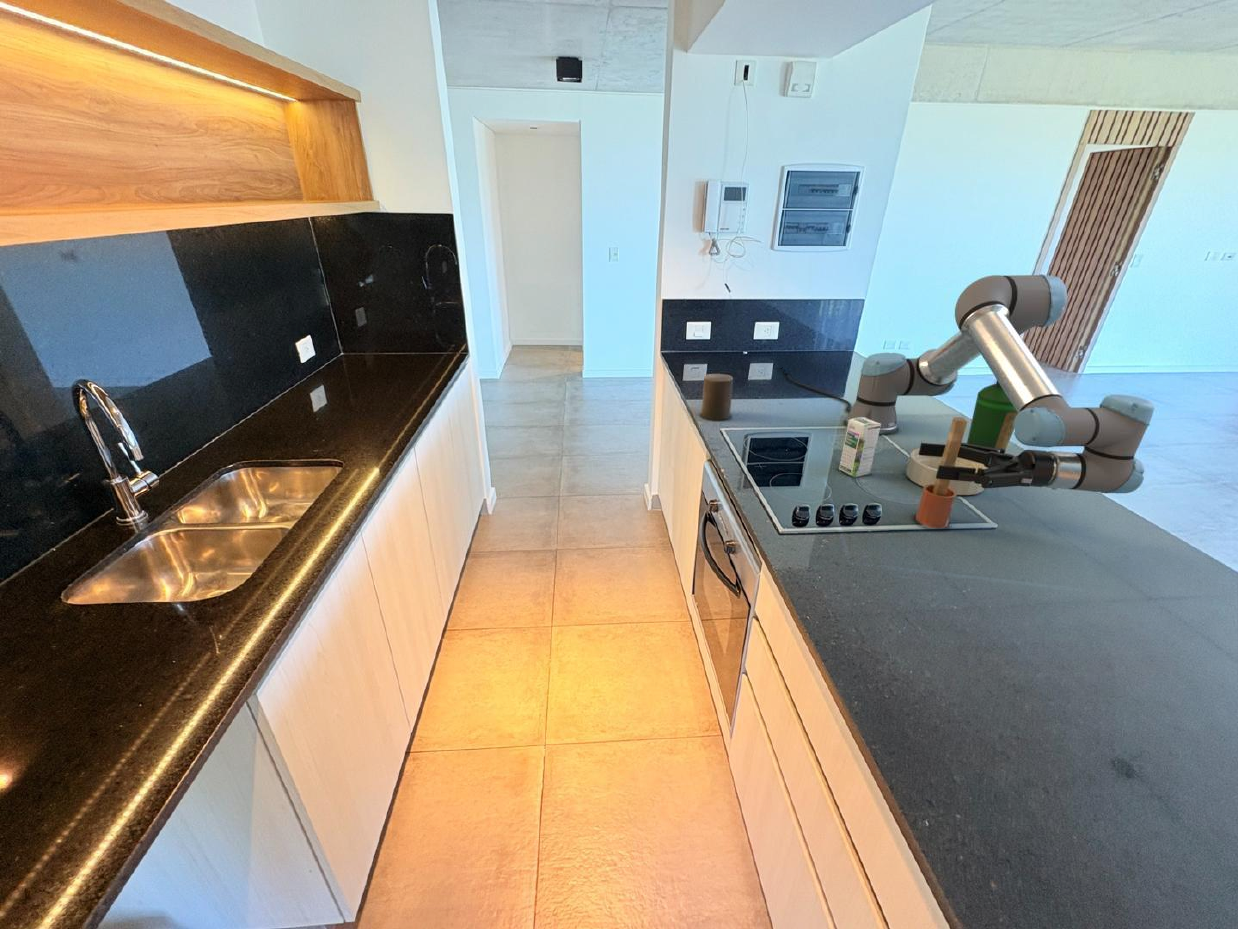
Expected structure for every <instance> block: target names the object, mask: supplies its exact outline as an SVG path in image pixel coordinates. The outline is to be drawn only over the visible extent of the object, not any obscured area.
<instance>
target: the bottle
mask: <svg viewBox="0 0 1238 929" xmlns="http://www.w3.org/2000/svg"><path fill="white" fill-rule="evenodd" d="M976 395H977V396H976V400H975V405H974V409H973V415H972V418H971V422H970V427H969V432H968V436H967V440H966V443H968V444H974V445H979V446H985V447H990V448H1000V449H1005V450H1007V448H1008V445H1009V443H1010V441H1011V438H1012V436H1013V434H1014V432H1015V428H1013V424H1014V420H1015V418H1016V416H1017V415H1018V412H1017V411H1016V409H1015V407H1014V406H1013V404H1012V403H1011V401H1010V400H1009V398H1008V396H1007V395H1006V393H1005V392H1004V390H1003V388H1002V387H1001V385H1000V384H999V382H998V380H997V379H996V382H995V383H993V384H990V385H987V386H984V387H983V388H982V389H981V390H980V391H978V392H977V394H976ZM991 461H992V460H991ZM990 464H991V462H990Z"/></svg>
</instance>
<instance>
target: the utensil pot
mask: <svg viewBox="0 0 1238 929" xmlns="http://www.w3.org/2000/svg"><path fill="white" fill-rule="evenodd" d="M933 489H934V484H931V485H926V486H924V487H923V488H922V491H921V494H920V498H919V503H918V506H917V509H916V514H915V520H916V521H917V522H918V523H919V524H921V525H923V526H925V527H928V528H932V529H945V528H946V527H947V526H948V525H949V523H950V520H951V519H950V518H951V515H952V512H953V509H954V505H955V502H956V498H957V497H958V495H956V492H955V491H954V490H952V489H950V488H948V490H947V493H946V496H945V497H944V496H938V495H934V494H932V492H933Z"/></svg>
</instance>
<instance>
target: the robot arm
mask: <svg viewBox="0 0 1238 929" xmlns="http://www.w3.org/2000/svg"><path fill="white" fill-rule="evenodd" d="M1067 302H1068V291H1067V287H1066V285H1065V283H1064V281H1063V280H1062V278H1059V277H1058V276H1055V275H1047V274H1023V275H1021V274H1019V275H1018V274H1017V275H998V274H997V275H996V274H994V275H988V276H984V277H981V278H979V279H976V280H975V281H973V282H972V283H970V284H969V285H968V286H967V287H965V288H964V289H963V291H962V292H961V293H960V295H959V296H958V299H957V300H956V304H955V307H954V318H955V324H956V326H957V328H958V330H959V331H957V332H956V333H955V334H954V335H953V336H951V337H950V338H948V340H946V341H945V342H944V343H943V344H941V345H940V346H939V347H938V348H932V349H928V350H926V351H925V352H923V353H922V354H921V355H919V357H917V358H916V357H915V358H914V357H913V358H908V357H906V355H904V354H902V353H899V352H879V353H874V354H870V355H868V356H867V357H866V358H865V359H864V361H863V363H862V366H861V370H860V377H859V383H858V387H857V393H856V398H855V402H854V403H853V405H852V407H851V403H850V402H849V401H848V400H846V399H845V398H842V397H839V396H837V395H834V394H832V393H829V392H826V391H823V390H820V389H817V388H814V387H811V386H809V385H805V384H803V383H801V382H799V381H796V380H795V379H794V378H791V377H790V376H789V375H788V376H789V377H788V376H786V378H787V379H788V380H789V381H791V382H792V383H794V384H796V385H798V386H800V387H803V388H806V389H809V390H811V391H814V392H817V393H819V394H822V395H825V396H828V397H832V398H833V399H836V400H839V401H841V402H843V403H845V404H847V407H846V411H847V412H849V413H848V414H847V416H846V418H845V425H846V426H847V427H848V422H849V420H850V419H853V418H859V417H865V418H867V419H869V420H872V421H874V422H877V423H880V424H881V427H880V431H879V435H888V434H893V433H895V432H896V431H897V428H898V418H897V410H896V406H897V405H896V404H897V401H898V397H906V396H907V397H919V396H920V397H924V396H925V397H937V396H942V395H945V394H948V393H949V392H950V391H951V390H952V389H953V388H954V387H955V385H956V384H955V383H956V382H957V381H958V377H959V370H961V369H962V368H964V367H965V366H966V365H968V364H970V363H971V362H973V361H974V360H976V359H977V358H978V357H980V356H982V358H983V360H984V361H985V363H986V364H987V366H988V368H989V370H990V371H991V373H992V374H993V376H994V377H995V379H996V381H997V380H998V382H999V384H1000V385H1001V387H1002V388H1003V390H1004V392H1005V393H1006V395H1007V396H1008V398H1009V400H1010V401H1011V403H1012V404H1013V406H1014V407H1015V409H1016V411H1017V412H1018V415H1017V416H1016V418H1015V420H1014V424H1013V428H1014V431H1013V434H1014V437H1015V438H1016V440H1017V442H1019V443H1021V444H1022V445H1024V446H1027V447H1036V448H1037V447H1038V448H1054V447H1061V448H1063V447H1083V450H1082V452H1072V451H1061V450H1060V451H1059V450H1058V451H1057V450H1048V451H1047V450H1040V449H1025V450H1023V451H1021V453H1019V454H1018V455H1014V454H1010V453H1007V452H1006V450H1007V449H1006V450H1005V449H1000V448H990V447H985V446H979V445H974V444H968V443H967V442H964V441H963V442H961V445H960V449H959V452H958V455H957V457H958V458H962V459H966V460H970V461H973V462H977V463H981V464H984V466H985V467H987V469H982V468H980V467H978V470H977V473H975V472H976V469H975V468H968V467H955V466H943V465H939V467H938V471H937V474H936V478H937V479H945V480H957V481H969V482H972V481H974V483H976V484H982V485H981V487H982V488H985V489H995V488H996V489H999V488H1011V487H1026V488H1028V487H1033V488H1034V487H1036V488H1048V489H1049V488H1050V489H1051V490H1054V491H1056V490H1058V489H1060V490H1074V491H1084V492H1094V493H1100V494H1130V493H1132V492H1135V491H1137V489H1139V488H1140V487H1141V485H1142V484H1143V482H1144V479H1145V477H1144V473H1145V467H1144V464H1143V463H1142V461H1141V460H1140V459H1138V458H1137V457H1135V455H1136V453H1137V452H1138V449H1139V446H1140V445H1141V442H1142V440H1143V438H1144V437H1145V436H1144V435H1145V433H1146V431H1147V429H1148V427H1150V425H1151V424H1150V423H1151V421H1152V417H1153V414H1154V411H1155V404H1153V403H1152V401H1150V400H1148V399H1146V398H1145V399H1144V398H1142V397H1137V396H1134V395H1133V396H1132V395H1128V394H1109V395H1107V396H1105V397H1104V398H1103V399H1102V401H1101V402H1100V403H1099V407H1095V406H1094V407H1089V406H1088V407H1072V406H1070V405H1069V404H1068V402H1067V401H1066V399H1065V398H1064V397H1063V396H1062V394H1061V392H1060V391H1059V390H1058V389H1057V387H1056V385H1055V384H1054V383H1053V381H1052V380H1051V378H1050V377H1049V376H1048V374H1047V373H1046V371H1045V370H1044V368H1043V367H1042V366H1041V365H1040V362H1039V361H1038V360H1037V359H1036V357H1035V356H1034V354H1033V353H1032V351H1031V350H1030V349H1029V347H1028V346H1027V344H1026V343H1025V340H1023V339H1022V337H1021V335H1023V334H1024V333H1026V332H1027V331H1028V330H1030V329H1032V328H1035V327H1038V328H1044V327H1049V326H1052V325H1054V324H1055V323H1057V321H1059V319H1060V318H1061V317H1062V315H1063V314H1064V312H1065V309H1066V304H1067ZM850 408H851V409H850ZM945 446H946V444H945V443H944V444H943V443H931V442H930V443H927V442H921V443H920V446H919V448H920V450H919V455H922V456H935V457H943V453H944V449H945ZM991 460H992V461H991ZM990 462H991V464H990Z"/></svg>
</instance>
